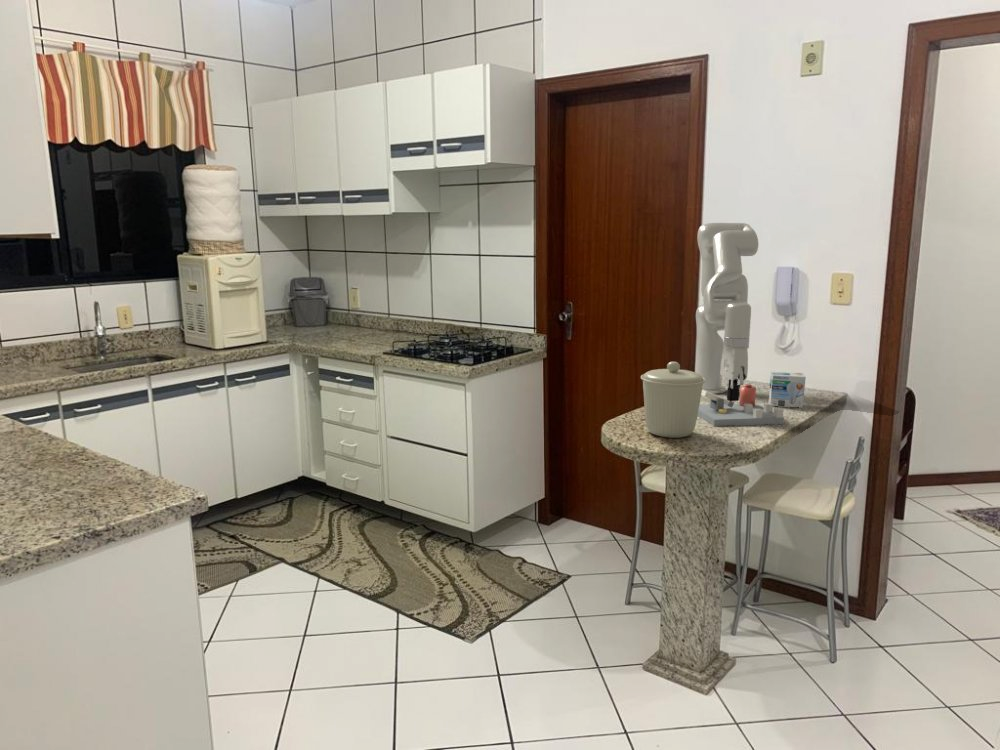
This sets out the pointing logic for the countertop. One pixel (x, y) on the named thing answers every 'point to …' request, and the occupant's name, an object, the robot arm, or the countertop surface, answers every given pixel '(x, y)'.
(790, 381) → the light bulb box
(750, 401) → the cap
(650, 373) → the canister
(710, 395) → the lever
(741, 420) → the panel
